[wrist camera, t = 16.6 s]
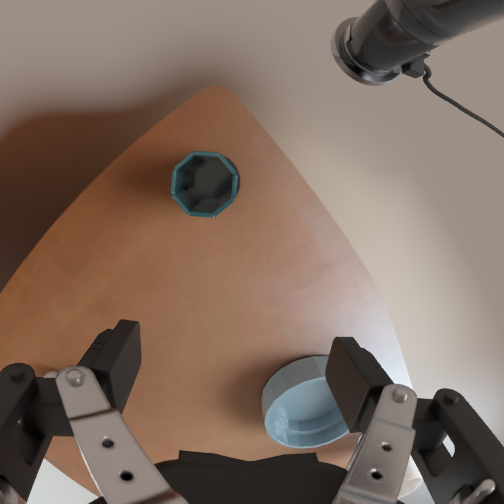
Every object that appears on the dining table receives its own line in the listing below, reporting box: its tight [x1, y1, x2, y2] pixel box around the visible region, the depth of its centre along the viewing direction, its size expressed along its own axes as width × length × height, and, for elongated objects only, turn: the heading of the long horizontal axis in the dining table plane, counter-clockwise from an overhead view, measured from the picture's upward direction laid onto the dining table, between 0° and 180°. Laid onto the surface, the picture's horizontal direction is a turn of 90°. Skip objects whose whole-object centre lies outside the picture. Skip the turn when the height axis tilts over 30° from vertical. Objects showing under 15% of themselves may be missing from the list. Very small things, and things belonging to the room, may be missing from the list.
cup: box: [358, 434, 423, 499], centre depth 44 cm, size 8×8×16 cm
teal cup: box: [170, 151, 238, 218], centre depth 32 cm, size 6×6×9 cm
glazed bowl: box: [261, 356, 349, 449], centre depth 44 cm, size 16×16×6 cm
